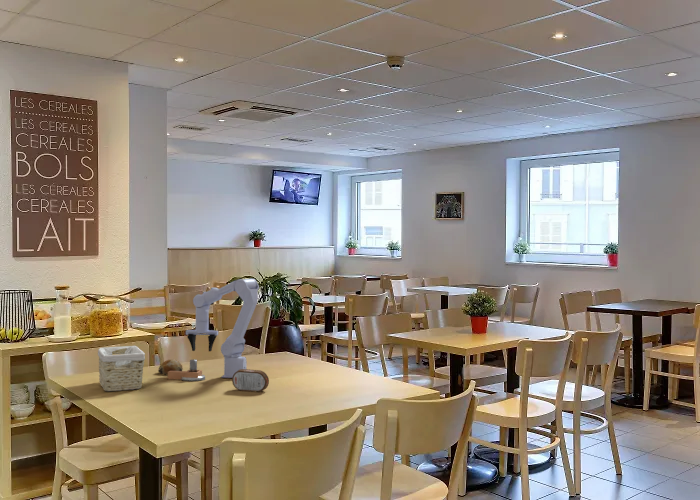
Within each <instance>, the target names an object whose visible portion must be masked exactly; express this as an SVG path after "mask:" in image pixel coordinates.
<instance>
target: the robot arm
mask: <svg viewBox="0 0 700 500" xmlns="http://www.w3.org/2000/svg"><path fill="white" fill-rule="evenodd" d="M259 290H260V285H259V283H258V282H257V280H256V279H255V278H238V279H235V280H232V281H231V282H230V283H227V284H226V285H223V286H221V287H220V288H218V287H211V288H210V290H208V291H203V292H202V294H196V295H195V296H194V297H193V299H192V303H193V305H194V307H195V329H186V330H185V335H187V339H188V341H189V343H190V347H191V351H192V352H195V351H196V339H197V336H198V335H199V336H207V339H208V352H212V349H213V345H214V342H215V341H216V338H217V336H219V330H213V329H211V330H210V329H209V316H210V312H209V311H210V307H211V305H212V304H214V303H216V302H217V301H220V300H222V298H223V296H225V295H228V294H230V293H232V292H236V294H237V295H238V296H239V298H240V299H241V300H242V301H243V304H242V306H241V308H240V310H239V314H238V316H237V319H236V321H235V324H234V325H233V329H232V331H231V334H230V335H228V337H226V339H225V341H224V342H223V343H222V344H221V346H220V353H221V354H222V356H223V358H224V359H223V362H224V367H223V369H224V370H223V373H224V374H223V375H221V376H220V377H221V378H227V379H229V378H230V379H232V377H233V375H234V373H235V372H237V371H238V370H240V369H247V365H248V364H247V358H246V356H242V353H244V351H245V343H246V339H245V338H244V337H245V336H246V335H245V334H246V332H247V329H248V326H249V324H250V322H251V320H252V317H253V315H254V312H255V309H256V307H257V304H258V292H259Z"/></svg>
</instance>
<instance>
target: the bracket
mask: <svg viewBox="0 0 700 500" xmlns="http://www.w3.org/2000/svg"><path fill="white" fill-rule="evenodd" d="M201 375H203V370H202V369H197V372H190V369H188V370H185V371H184V370H182V371H169V372H168V375H167V379H168V380H181V377H189V378H198V377H200V376H201Z"/></svg>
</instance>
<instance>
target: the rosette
mask: <svg viewBox="0 0 700 500" xmlns="http://www.w3.org/2000/svg"><path fill="white" fill-rule="evenodd" d="M180 380H181V381H184V382H199V381H205V380H206V375H205V374H202V375H201V376H200V377H198V378H189V377H181V379H180Z"/></svg>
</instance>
